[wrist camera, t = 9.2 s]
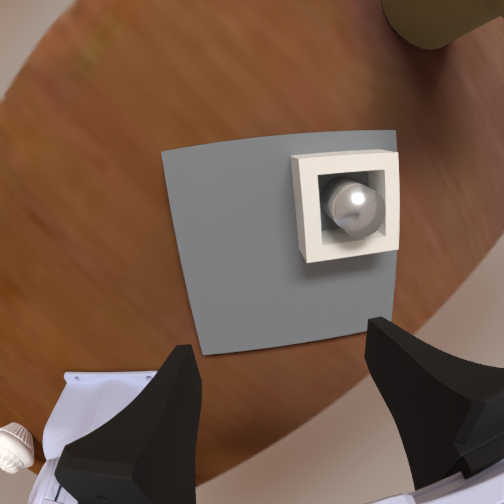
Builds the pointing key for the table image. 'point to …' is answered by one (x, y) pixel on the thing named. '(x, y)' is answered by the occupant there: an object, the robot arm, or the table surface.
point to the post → (353, 206)
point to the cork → (439, 19)
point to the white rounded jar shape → (15, 448)
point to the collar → (308, 205)
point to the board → (268, 244)
